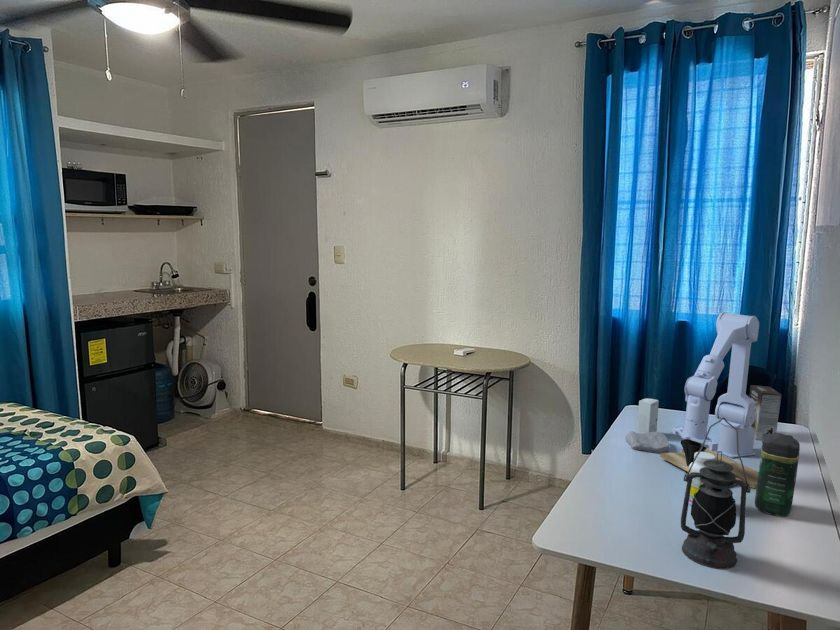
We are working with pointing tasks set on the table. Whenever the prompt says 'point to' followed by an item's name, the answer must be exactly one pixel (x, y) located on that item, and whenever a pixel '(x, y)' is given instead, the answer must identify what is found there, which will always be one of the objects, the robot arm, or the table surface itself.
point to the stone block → (648, 442)
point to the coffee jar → (777, 474)
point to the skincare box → (647, 415)
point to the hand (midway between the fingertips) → (691, 466)
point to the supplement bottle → (695, 468)
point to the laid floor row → (738, 469)
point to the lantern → (714, 513)
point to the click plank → (679, 460)
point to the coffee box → (765, 410)
